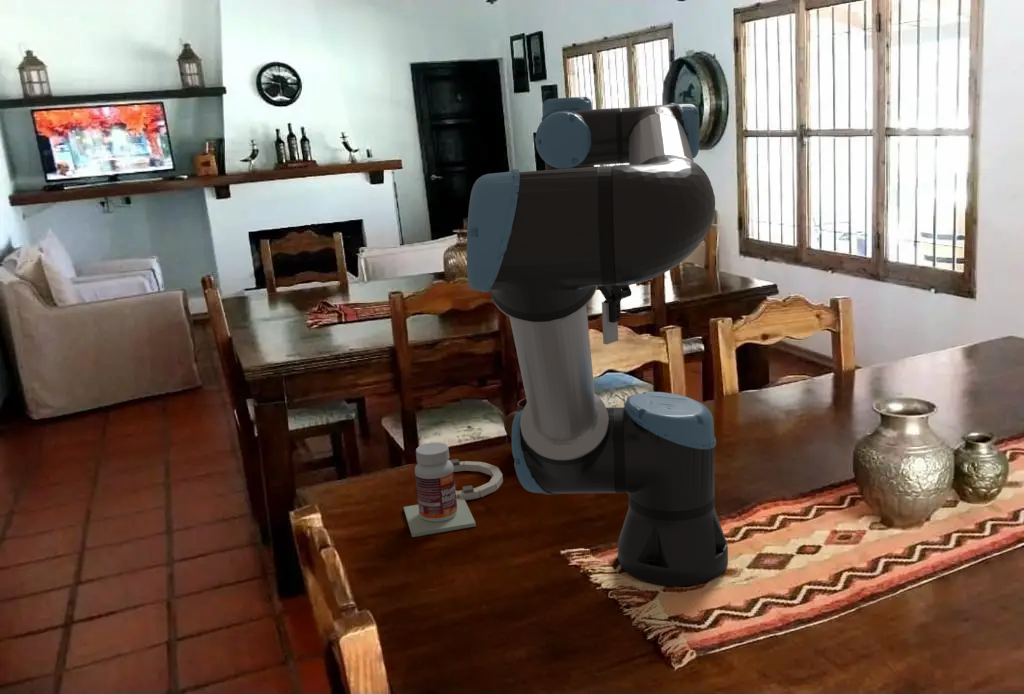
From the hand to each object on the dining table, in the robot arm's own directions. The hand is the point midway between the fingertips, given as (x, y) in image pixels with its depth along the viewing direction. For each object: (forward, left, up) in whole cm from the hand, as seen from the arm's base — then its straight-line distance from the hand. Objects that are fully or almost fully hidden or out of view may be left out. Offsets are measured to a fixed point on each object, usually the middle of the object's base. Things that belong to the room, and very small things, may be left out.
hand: (577, 336), depth 138 cm
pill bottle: (-1, +25, -26) cm, 36 cm away
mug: (+20, +4, -27) cm, 34 cm away
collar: (+11, +19, -27) cm, 34 cm away
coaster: (-1, +25, -27) cm, 37 cm away
